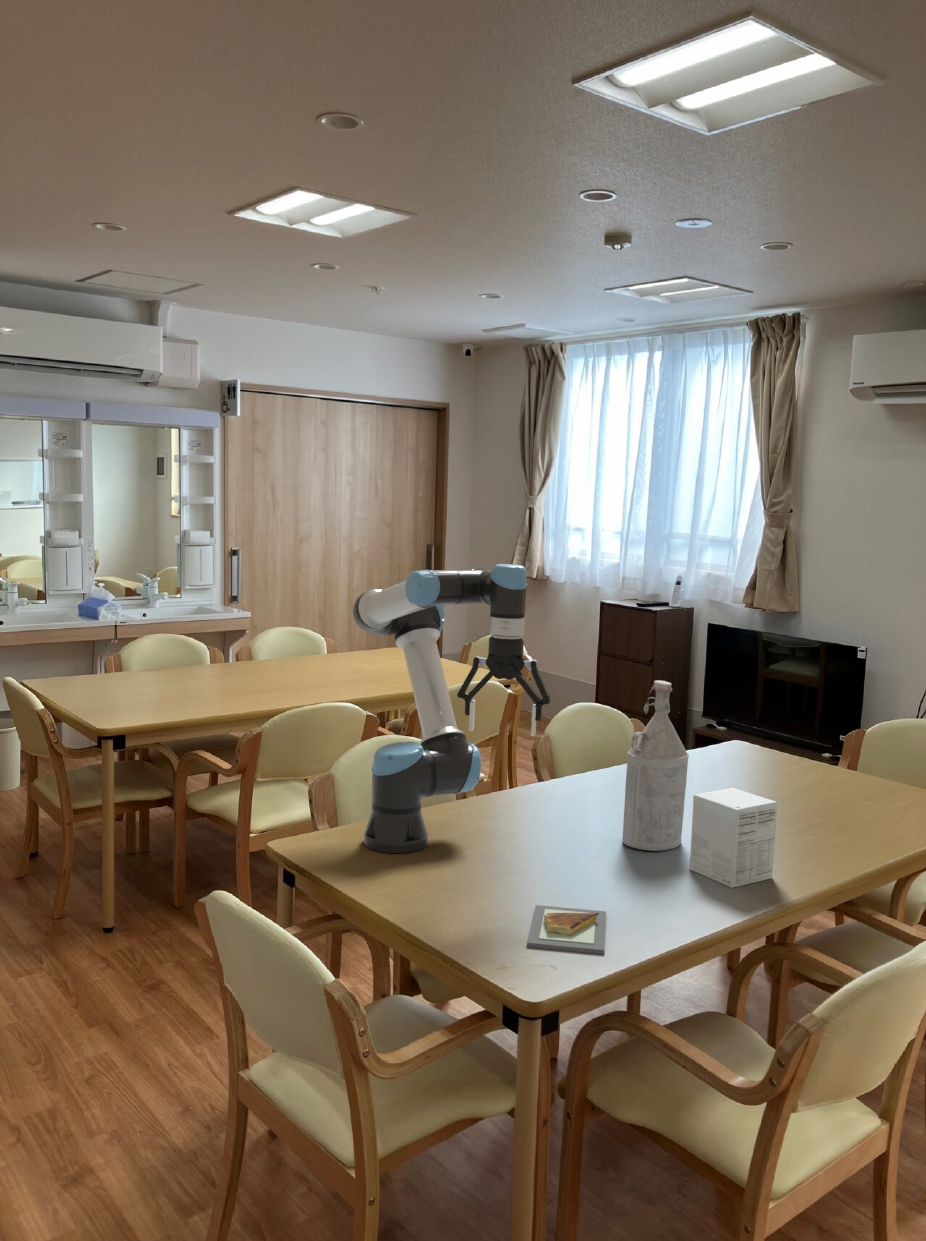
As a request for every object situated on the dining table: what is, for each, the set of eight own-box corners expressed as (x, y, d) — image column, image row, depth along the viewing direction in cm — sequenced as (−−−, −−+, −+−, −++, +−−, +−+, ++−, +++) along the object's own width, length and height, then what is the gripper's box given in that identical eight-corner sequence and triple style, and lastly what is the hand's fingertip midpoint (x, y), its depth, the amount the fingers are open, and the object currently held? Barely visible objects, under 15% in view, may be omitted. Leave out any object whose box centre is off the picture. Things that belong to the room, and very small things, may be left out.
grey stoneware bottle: (607, 843, 244) (615, 680, 239) (653, 829, 255) (661, 674, 251) (649, 857, 234) (658, 689, 230) (694, 843, 245) (703, 682, 241)
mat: (527, 946, 184) (527, 941, 184) (535, 908, 202) (535, 904, 202) (604, 954, 182) (604, 948, 182) (606, 915, 200) (606, 910, 200)
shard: (599, 920, 195) (599, 911, 195) (606, 936, 187) (607, 927, 187) (543, 919, 194) (543, 910, 194) (548, 936, 187) (549, 927, 187)
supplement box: (774, 878, 223) (779, 801, 221) (732, 889, 216) (737, 809, 214) (729, 860, 234) (733, 786, 232) (687, 869, 227) (692, 793, 225)
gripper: (446, 635, 216) (443, 731, 219) (563, 642, 212) (558, 740, 215) (452, 630, 223) (449, 724, 226) (565, 637, 220) (560, 732, 222)
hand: (502, 732), depth 221 cm, fingers open, 13 cm apart
